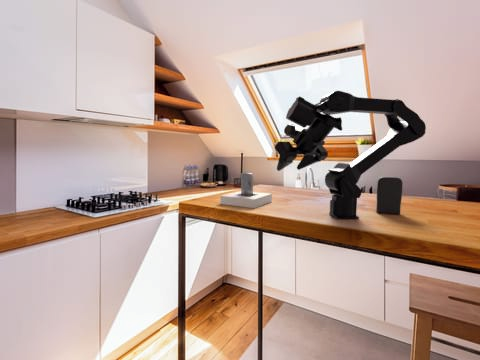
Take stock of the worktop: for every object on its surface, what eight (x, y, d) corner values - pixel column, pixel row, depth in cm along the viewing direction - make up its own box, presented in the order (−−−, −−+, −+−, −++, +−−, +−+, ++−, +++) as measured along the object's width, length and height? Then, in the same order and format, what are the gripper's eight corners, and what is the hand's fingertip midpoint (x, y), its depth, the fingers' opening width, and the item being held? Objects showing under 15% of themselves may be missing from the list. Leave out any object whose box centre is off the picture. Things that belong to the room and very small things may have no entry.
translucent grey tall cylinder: (252, 201, 104) (252, 172, 103) (253, 203, 100) (253, 173, 98) (240, 201, 104) (240, 172, 102) (241, 203, 99) (241, 173, 98)
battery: (399, 212, 86) (401, 176, 85) (401, 215, 83) (403, 177, 81) (374, 210, 89) (376, 175, 87) (375, 213, 85) (377, 176, 84)
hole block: (271, 201, 104) (271, 193, 104) (254, 208, 92) (254, 199, 92) (240, 198, 111) (240, 190, 111) (220, 203, 99) (220, 195, 99)
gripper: (321, 117, 88) (295, 151, 98) (279, 112, 77) (254, 151, 87) (342, 141, 83) (311, 175, 93) (300, 139, 72) (271, 178, 82)
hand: (288, 169), depth 89 cm, fingers open, 9 cm apart
